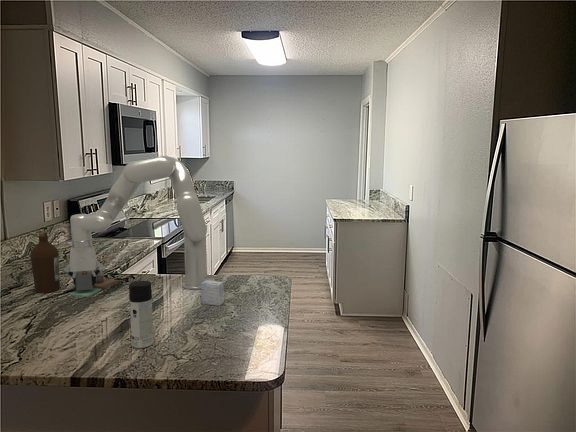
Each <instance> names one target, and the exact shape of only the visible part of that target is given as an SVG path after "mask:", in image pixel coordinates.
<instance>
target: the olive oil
mask: <svg viewBox="0 0 576 432" xmlns="http://www.w3.org/2000/svg"><path fill="white" fill-rule="evenodd" d="M48 238H49V237H48V232H47V231H45V232H39V233H38V243H37V244H35V246H34V248H32V250H31V252H30V264H31V270H32V277H33V285H34V292H35V293H38V294H47V293H48V294H49V293H54V292H56V291H58V290H60V288H61V285H60V283H61V282H60V281H61V280H60V252H59V250H58V248H57V247H56V246H55V245H53V244H52V243H51V242H50V241H49V239H48Z"/></svg>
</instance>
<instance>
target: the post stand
mask: <svg viewBox="0 0 576 432" xmlns="http://www.w3.org/2000/svg"><path fill="white" fill-rule="evenodd" d="M98 268H99V267H98V266H97V267H96V269H95V271H96V270H97V269H98ZM119 282H120V280H119V279H112V278H111V279H110V278H104V268H103V269H102V270H101V271H100V272H99V273H98V274H97V275H96V283H95V285H94V286H93V288H99V289H102V290H107V289H108V288H110V287H112V286H114V285H116V284H118V283H119Z"/></svg>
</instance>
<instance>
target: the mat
mask: <svg viewBox="0 0 576 432" xmlns="http://www.w3.org/2000/svg"><path fill="white" fill-rule="evenodd" d="M102 290H103V289H99V288H92V289H87V290H74V291H72V292H70V293H68V296H74V297H75V296H76V297H84V298H88V297H91V296H93V295H95V294H97V293H99V292H101V291H102Z"/></svg>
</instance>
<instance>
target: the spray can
mask: <svg viewBox="0 0 576 432" xmlns="http://www.w3.org/2000/svg"><path fill="white" fill-rule="evenodd" d="M152 292H153V291H152V282H151V281H149V280H135V281H132V282H130V283H129V284H128V295H129V296H128V297H129V298H128V299H129V325H130V342H131V343H130V345H131V347H132V348H134V349H136V350H137V349H138V350H139V349H146V348H149V347H151V346H152V345H153V343H154V322H153V317H154V316H153V315H154V314H153V295H152V294H153V293H152Z"/></svg>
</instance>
